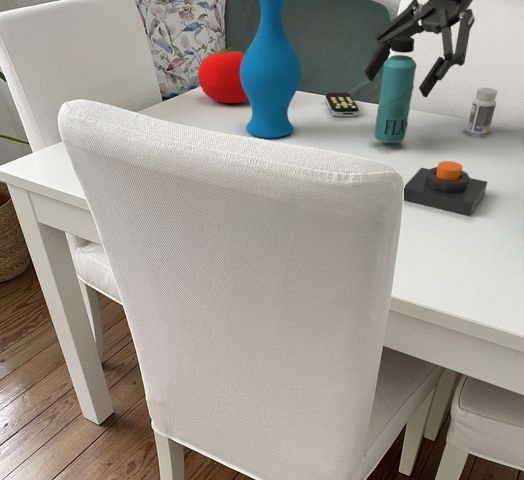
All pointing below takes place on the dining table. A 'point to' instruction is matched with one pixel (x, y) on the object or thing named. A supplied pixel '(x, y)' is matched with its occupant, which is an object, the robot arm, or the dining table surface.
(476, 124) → the pill bottle
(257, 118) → the vase
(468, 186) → the dark grey mounting base
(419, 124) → the dining table surface
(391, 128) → the beverage bottle
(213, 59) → the tomato
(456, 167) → the button
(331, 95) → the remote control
